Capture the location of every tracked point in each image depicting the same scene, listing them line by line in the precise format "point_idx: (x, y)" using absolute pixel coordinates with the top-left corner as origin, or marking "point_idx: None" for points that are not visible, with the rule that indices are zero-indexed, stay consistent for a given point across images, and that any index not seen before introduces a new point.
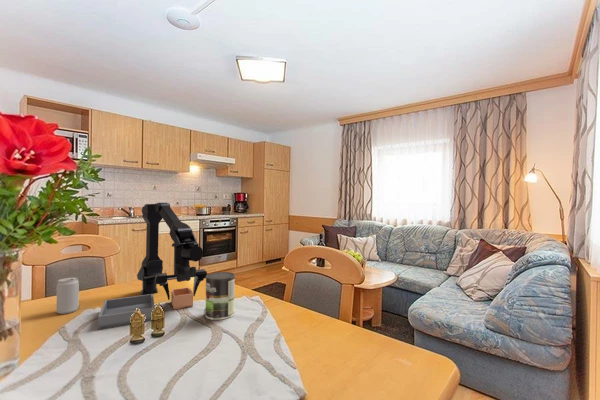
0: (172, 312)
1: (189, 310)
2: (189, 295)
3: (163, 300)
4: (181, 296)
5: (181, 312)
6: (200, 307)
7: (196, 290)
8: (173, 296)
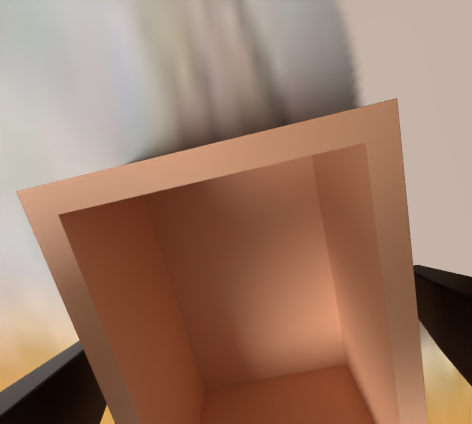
0: (321, 33)
1: (140, 50)
2: (94, 174)
3: (427, 417)
4: (233, 138)
5: (220, 3)
6: (37, 121)
7: (17, 381)
8: (394, 100)
